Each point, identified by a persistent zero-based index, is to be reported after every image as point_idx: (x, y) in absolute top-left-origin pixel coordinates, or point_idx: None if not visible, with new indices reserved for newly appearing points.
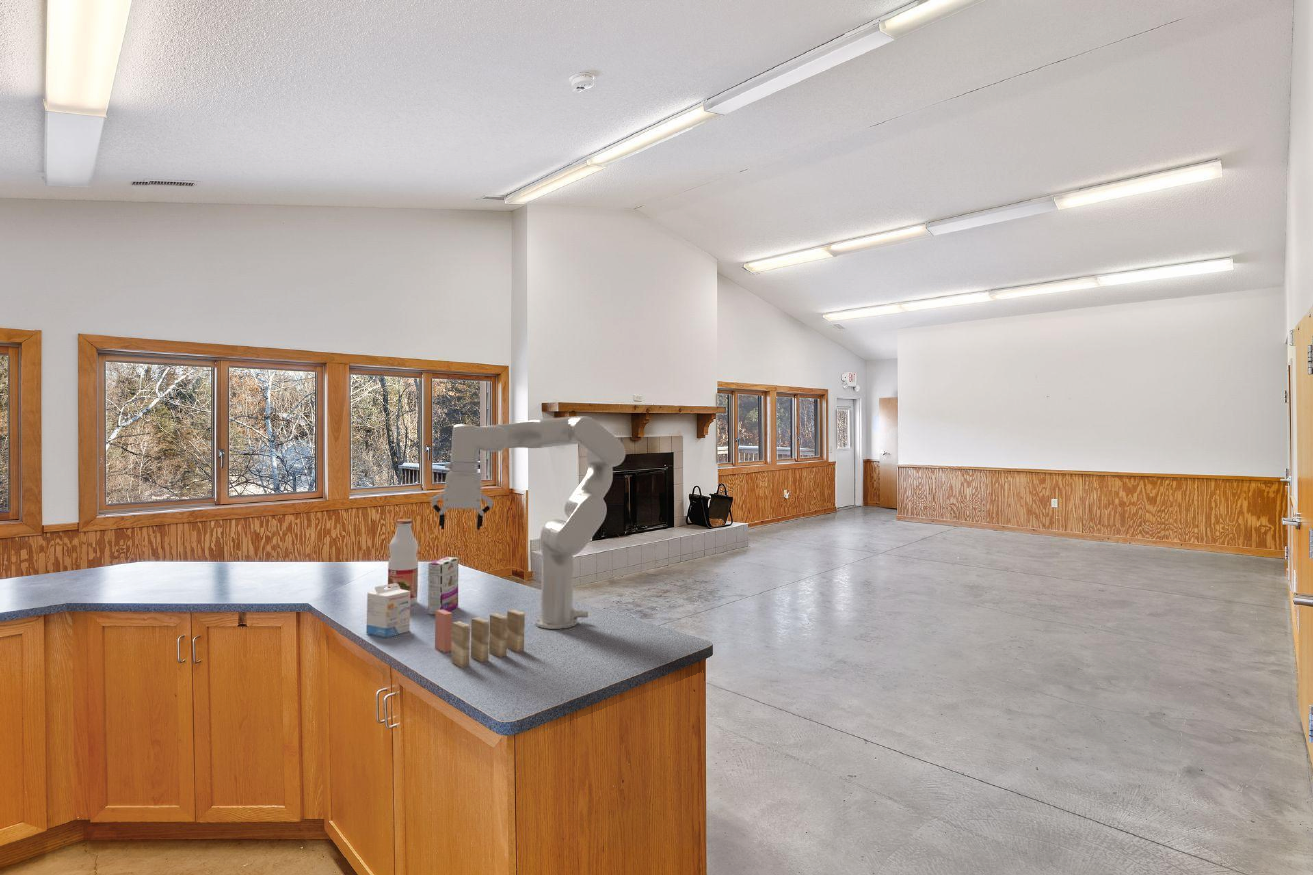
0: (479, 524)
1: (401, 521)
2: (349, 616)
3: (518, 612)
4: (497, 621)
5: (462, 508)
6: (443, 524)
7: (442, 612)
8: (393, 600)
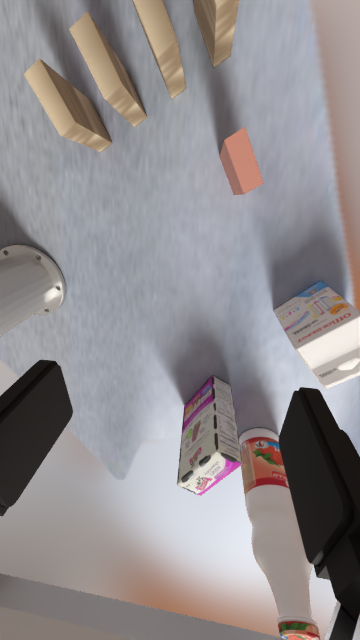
0: (19, 383)
1: (310, 633)
2: (344, 406)
3: (43, 92)
4: (103, 41)
5: (86, 605)
6: (317, 415)
7: (249, 154)
8: (336, 317)
